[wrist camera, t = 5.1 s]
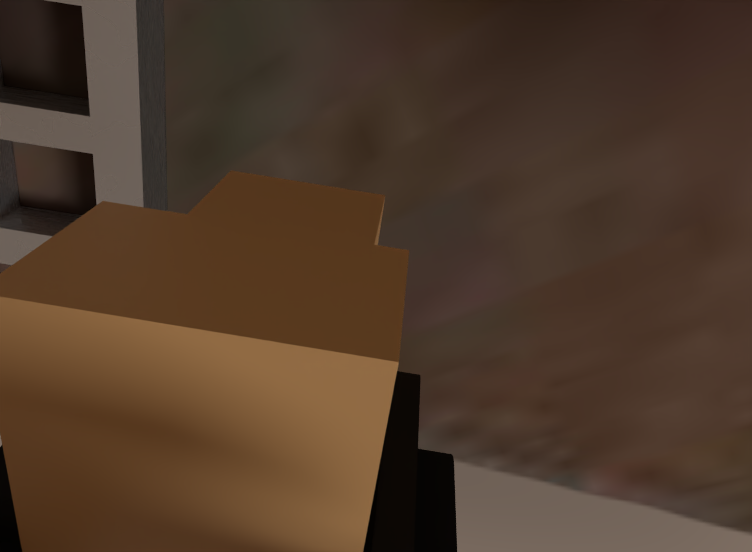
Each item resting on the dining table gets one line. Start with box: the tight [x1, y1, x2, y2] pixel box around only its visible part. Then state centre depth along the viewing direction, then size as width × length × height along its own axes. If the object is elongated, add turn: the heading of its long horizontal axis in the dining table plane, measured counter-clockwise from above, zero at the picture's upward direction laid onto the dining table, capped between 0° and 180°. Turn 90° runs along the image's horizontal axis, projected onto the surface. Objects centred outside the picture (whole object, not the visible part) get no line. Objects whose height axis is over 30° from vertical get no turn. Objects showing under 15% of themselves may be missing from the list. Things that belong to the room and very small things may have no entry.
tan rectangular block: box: [0, 171, 409, 552], centre depth 11 cm, size 4×9×6 cm, turn 172°
